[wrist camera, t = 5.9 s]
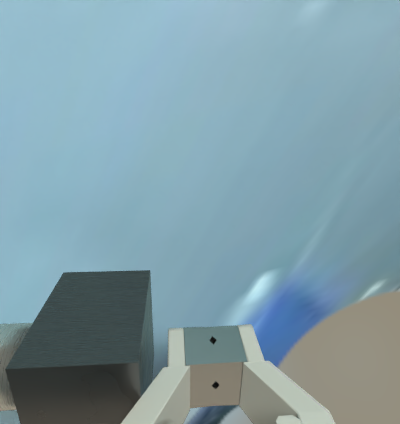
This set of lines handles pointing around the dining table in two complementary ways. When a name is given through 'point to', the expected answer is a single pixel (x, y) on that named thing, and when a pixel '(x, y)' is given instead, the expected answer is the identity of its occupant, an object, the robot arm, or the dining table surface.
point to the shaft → (81, 351)
